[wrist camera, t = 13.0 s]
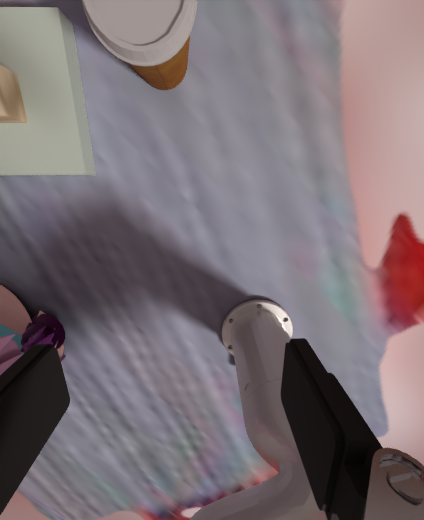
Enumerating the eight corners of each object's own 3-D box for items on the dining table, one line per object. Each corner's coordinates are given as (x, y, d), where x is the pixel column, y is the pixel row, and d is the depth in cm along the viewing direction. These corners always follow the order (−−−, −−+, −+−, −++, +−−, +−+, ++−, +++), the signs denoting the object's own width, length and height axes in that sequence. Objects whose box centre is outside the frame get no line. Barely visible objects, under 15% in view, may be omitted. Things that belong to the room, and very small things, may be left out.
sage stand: (96, 175, 33) (85, 174, 30) (-25, 176, 33) (-47, 175, 30) (72, 25, 28) (57, 7, 25) (-72, 24, 28) (-104, 6, 25)
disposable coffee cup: (132, -1, 27) (79, -132, 16) (209, 30, 28) (211, -73, 17) (118, 90, 30) (64, 33, 19) (189, 115, 31) (179, 76, 20)
